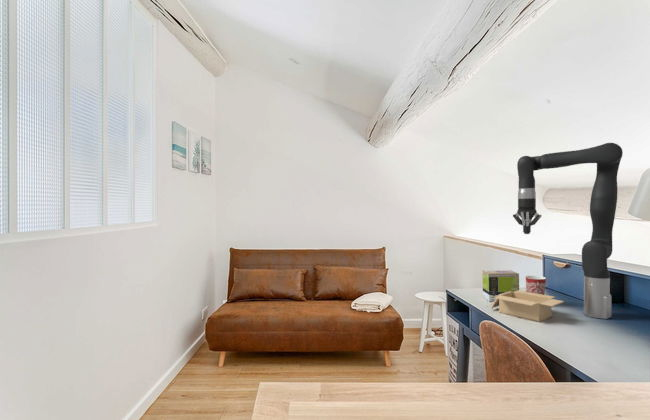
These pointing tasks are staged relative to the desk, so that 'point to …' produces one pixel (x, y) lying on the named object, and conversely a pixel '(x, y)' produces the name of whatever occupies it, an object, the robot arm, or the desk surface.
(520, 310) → the carton
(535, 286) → the mug
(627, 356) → the desk surface
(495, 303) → the flap
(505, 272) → the tea box
